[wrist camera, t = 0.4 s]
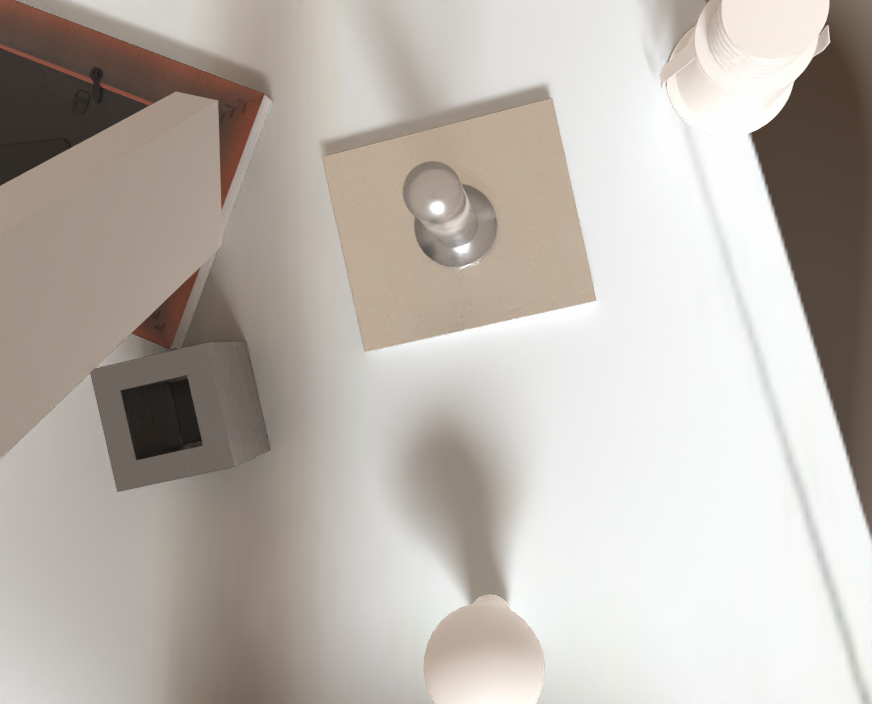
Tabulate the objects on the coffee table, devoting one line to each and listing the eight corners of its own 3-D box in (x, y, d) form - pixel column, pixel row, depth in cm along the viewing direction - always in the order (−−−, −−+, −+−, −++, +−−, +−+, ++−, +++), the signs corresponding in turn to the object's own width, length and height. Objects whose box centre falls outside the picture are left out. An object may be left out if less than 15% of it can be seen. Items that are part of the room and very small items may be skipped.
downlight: (794, 3, 44) (860, -89, 34) (808, 126, 44) (878, 69, 34) (650, 29, 45) (674, -53, 36) (664, 148, 46) (691, 99, 36)
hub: (270, 450, 48) (234, 466, 43) (166, 472, 49) (117, 491, 43) (245, 340, 48) (206, 342, 43) (142, 365, 49) (89, 370, 43)
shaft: (594, 301, 46) (621, 289, 33) (368, 351, 48) (309, 359, 35) (551, 103, 46) (561, 14, 33) (326, 160, 48) (251, 97, 35)
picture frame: (-102, 228, 52) (186, 348, 50) (-133, 223, 49) (168, 349, 47) (-21, -8, 51) (276, 105, 49) (-49, -25, 48) (263, 93, 46)
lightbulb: (438, 561, 47) (412, 630, 37) (538, 558, 47) (542, 629, 36) (444, 660, 48) (419, 758, 37) (544, 659, 47) (550, 759, 36)
